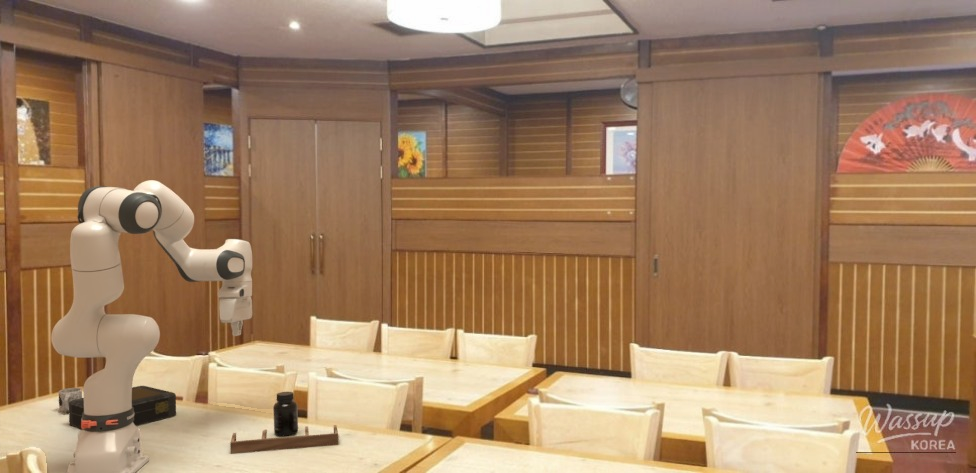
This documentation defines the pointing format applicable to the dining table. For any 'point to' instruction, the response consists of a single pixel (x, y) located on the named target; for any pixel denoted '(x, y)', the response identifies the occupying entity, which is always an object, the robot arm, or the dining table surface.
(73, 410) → the cash box
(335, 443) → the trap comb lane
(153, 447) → the dining table surface
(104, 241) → the robot arm
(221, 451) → the dining table surface
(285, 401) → the supplement bottle
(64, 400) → the mug
